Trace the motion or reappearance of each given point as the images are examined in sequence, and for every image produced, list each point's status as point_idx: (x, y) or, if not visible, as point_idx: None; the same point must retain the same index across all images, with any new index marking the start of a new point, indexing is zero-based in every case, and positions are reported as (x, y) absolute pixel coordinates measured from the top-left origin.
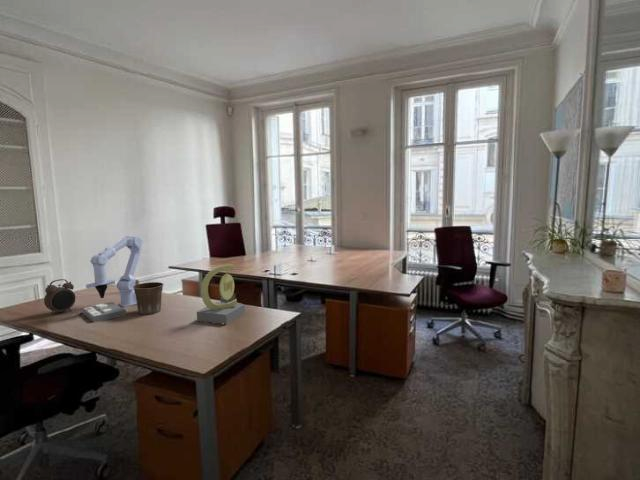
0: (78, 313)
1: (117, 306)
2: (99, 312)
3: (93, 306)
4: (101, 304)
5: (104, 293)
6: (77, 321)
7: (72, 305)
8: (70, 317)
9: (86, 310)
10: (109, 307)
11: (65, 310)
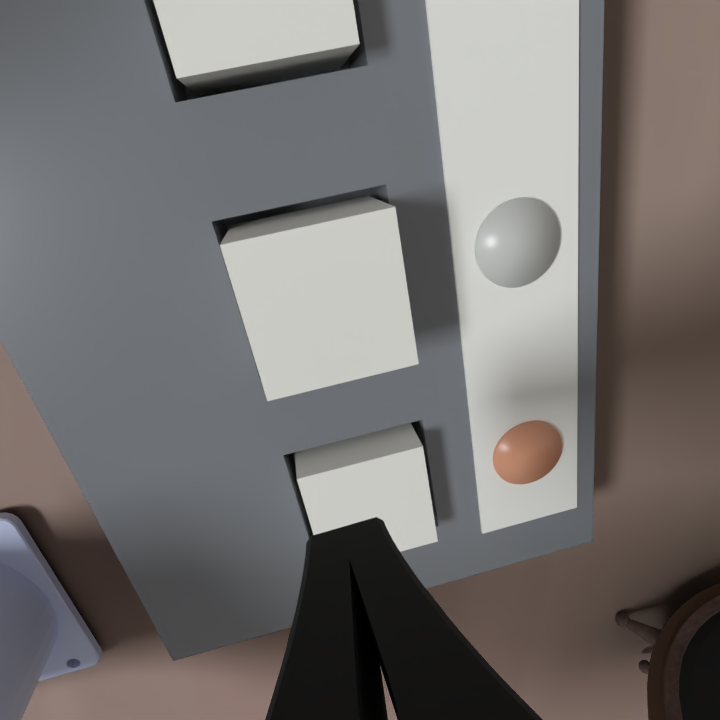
0: None
1: (29, 316)
2: (420, 8)
3: (451, 543)
4: None
5: (288, 666)
6: (711, 62)
7: (652, 673)
8: (701, 365)
9: (582, 363)
10: (204, 335)
11: (696, 599)
